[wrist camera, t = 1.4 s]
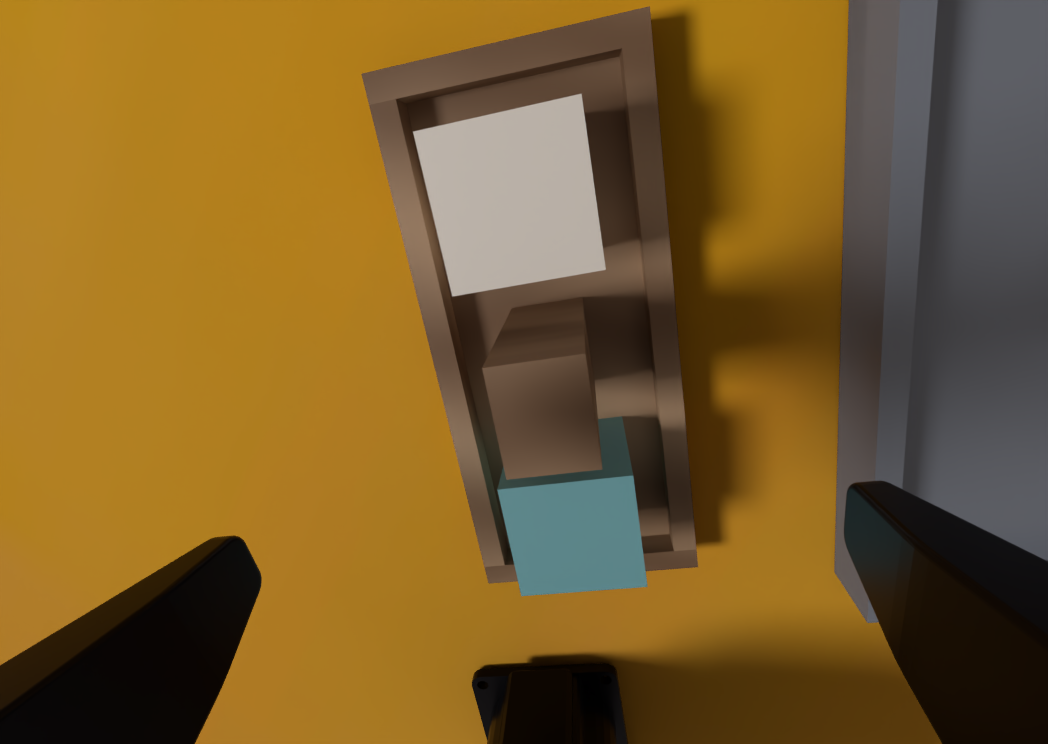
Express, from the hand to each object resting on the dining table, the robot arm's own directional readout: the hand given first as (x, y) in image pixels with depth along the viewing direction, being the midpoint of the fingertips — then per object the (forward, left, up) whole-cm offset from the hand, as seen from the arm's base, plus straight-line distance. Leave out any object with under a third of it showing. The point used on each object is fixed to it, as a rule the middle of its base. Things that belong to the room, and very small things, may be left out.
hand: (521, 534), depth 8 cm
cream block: (+4, 0, -11) cm, 12 cm away
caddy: (0, 0, -12) cm, 12 cm away
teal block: (-5, 0, -11) cm, 12 cm away
